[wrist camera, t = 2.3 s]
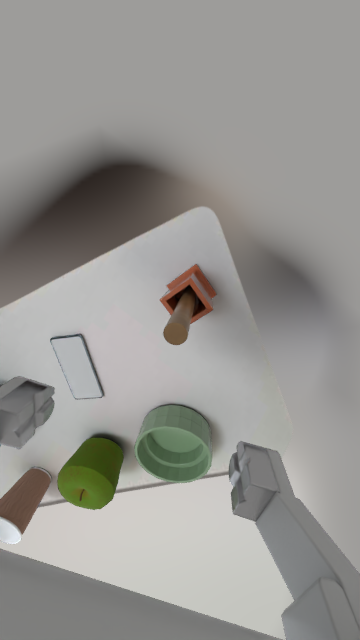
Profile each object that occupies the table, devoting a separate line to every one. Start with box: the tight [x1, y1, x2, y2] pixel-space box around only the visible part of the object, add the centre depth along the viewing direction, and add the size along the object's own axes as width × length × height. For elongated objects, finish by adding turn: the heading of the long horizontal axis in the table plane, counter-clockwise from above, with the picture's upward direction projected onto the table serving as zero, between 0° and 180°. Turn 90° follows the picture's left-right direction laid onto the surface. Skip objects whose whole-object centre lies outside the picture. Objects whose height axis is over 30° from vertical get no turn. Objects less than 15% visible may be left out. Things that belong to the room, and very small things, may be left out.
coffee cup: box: [0, 467, 51, 544], centre depth 52 cm, size 10×10×12 cm
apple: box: [57, 438, 124, 510], centre depth 44 cm, size 12×12×11 cm
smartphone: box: [50, 334, 103, 399], centre depth 42 cm, size 7×1×15 cm
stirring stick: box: [163, 285, 197, 345], centre depth 25 cm, size 2×2×18 cm
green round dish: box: [134, 405, 212, 483], centre depth 42 cm, size 15×15×6 cm
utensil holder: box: [160, 264, 217, 324], centre depth 29 cm, size 6×6×10 cm
